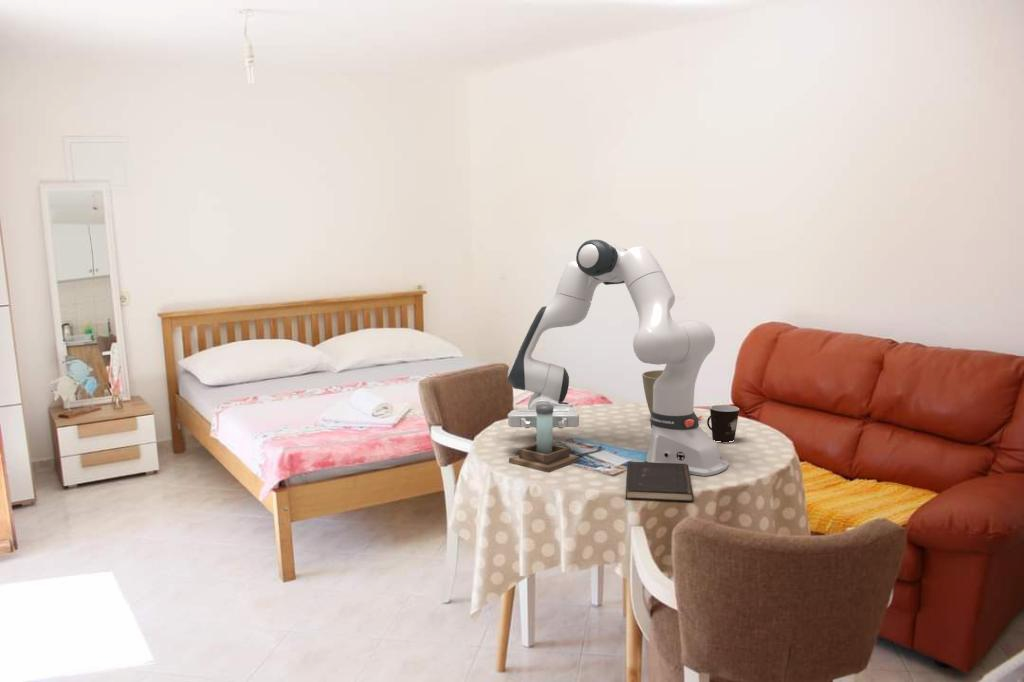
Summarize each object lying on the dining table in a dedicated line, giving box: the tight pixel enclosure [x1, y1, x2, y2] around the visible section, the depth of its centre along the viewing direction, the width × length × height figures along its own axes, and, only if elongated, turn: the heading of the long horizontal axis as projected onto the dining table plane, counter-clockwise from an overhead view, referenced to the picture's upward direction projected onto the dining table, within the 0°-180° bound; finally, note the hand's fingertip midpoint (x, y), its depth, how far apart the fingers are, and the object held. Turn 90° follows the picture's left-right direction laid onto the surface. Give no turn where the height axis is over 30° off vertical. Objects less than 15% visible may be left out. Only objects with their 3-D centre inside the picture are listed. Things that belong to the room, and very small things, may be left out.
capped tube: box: [536, 404, 554, 454], centre depth 235 cm, size 5×5×15 cm
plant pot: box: [641, 369, 664, 415], centre depth 279 cm, size 15×15×16 cm
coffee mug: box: [706, 404, 740, 442], centre depth 256 cm, size 12×9×10 cm
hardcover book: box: [625, 461, 694, 503], centre depth 214 cm, size 16×23×2 cm
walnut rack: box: [508, 443, 581, 473], centre depth 236 cm, size 14×14×4 cm
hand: (544, 425), depth 235 cm, fingers open, 8 cm apart
